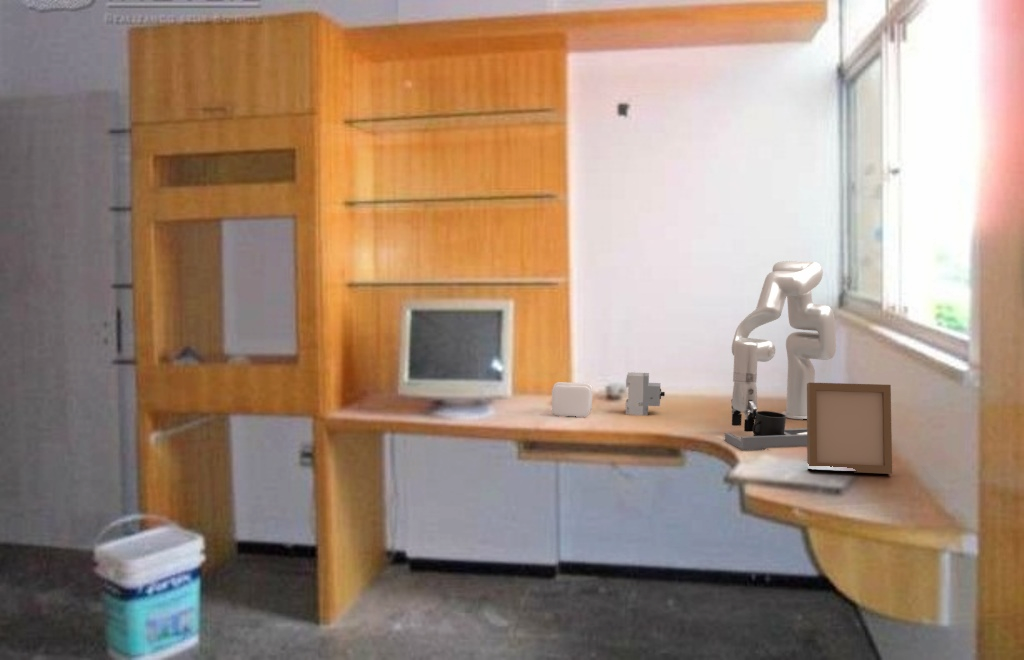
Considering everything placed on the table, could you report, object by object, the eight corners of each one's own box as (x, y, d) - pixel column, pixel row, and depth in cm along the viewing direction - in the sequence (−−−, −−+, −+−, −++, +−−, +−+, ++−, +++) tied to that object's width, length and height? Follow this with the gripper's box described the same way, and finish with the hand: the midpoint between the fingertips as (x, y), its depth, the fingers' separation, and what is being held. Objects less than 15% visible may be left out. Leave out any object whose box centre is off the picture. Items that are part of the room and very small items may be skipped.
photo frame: (892, 477, 235) (895, 387, 233) (809, 473, 239) (812, 385, 237) (879, 464, 249) (882, 380, 247) (801, 461, 253) (804, 377, 251)
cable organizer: (549, 416, 317) (549, 385, 315) (553, 411, 327) (553, 381, 326) (589, 418, 314) (589, 387, 312) (592, 412, 324) (593, 382, 323)
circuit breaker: (663, 416, 317) (664, 376, 315) (625, 414, 320) (626, 375, 318) (664, 412, 324) (665, 373, 323) (626, 410, 327) (627, 372, 326)
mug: (740, 439, 277) (743, 412, 276) (767, 436, 283) (770, 410, 281) (762, 446, 269) (765, 418, 267) (789, 444, 274) (792, 416, 273)
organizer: (812, 436, 284) (813, 425, 283) (834, 446, 271) (835, 434, 270) (724, 440, 278) (725, 428, 278) (742, 450, 265) (743, 437, 265)
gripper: (767, 381, 275) (764, 433, 277) (744, 374, 292) (742, 423, 294) (745, 381, 274) (743, 433, 276) (723, 374, 291) (721, 423, 293)
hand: (742, 428), depth 285 cm, fingers open, 9 cm apart
